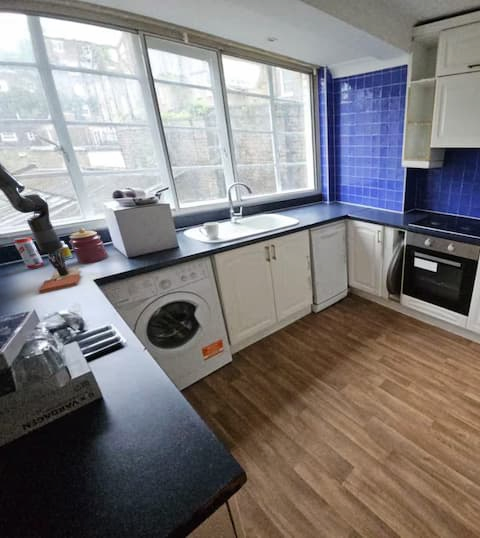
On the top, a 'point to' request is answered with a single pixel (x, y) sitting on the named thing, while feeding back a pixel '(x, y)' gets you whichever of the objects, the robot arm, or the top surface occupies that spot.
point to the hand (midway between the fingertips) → (64, 273)
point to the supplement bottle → (65, 251)
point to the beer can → (28, 252)
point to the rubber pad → (59, 283)
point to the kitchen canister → (87, 246)
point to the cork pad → (69, 273)
